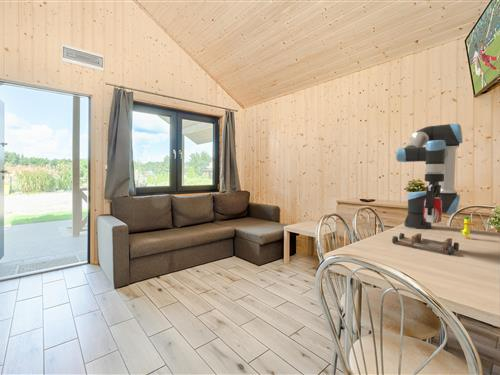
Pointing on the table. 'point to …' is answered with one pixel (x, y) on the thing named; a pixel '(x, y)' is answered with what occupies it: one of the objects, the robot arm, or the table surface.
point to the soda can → (435, 210)
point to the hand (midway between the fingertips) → (432, 220)
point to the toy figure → (466, 225)
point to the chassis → (426, 244)
